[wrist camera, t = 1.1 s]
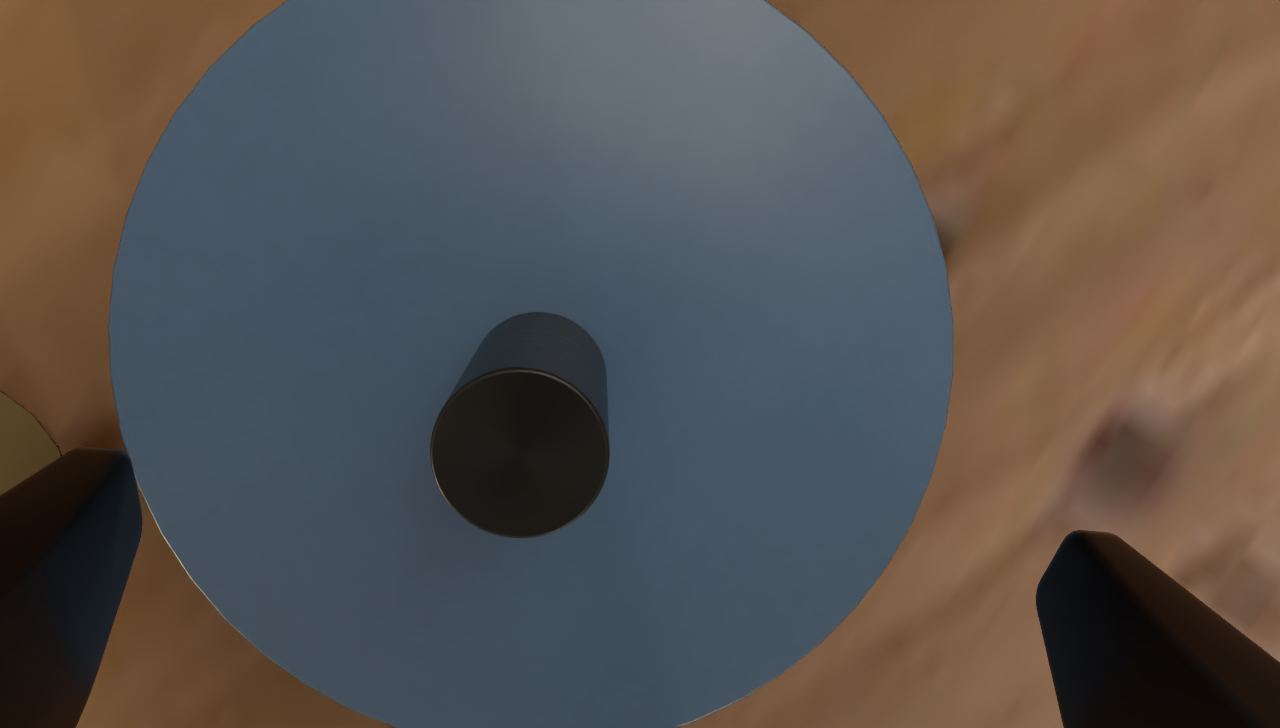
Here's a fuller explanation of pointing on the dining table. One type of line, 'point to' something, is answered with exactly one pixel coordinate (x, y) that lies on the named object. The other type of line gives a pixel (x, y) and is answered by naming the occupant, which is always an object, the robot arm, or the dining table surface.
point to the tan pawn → (21, 445)
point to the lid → (531, 352)
